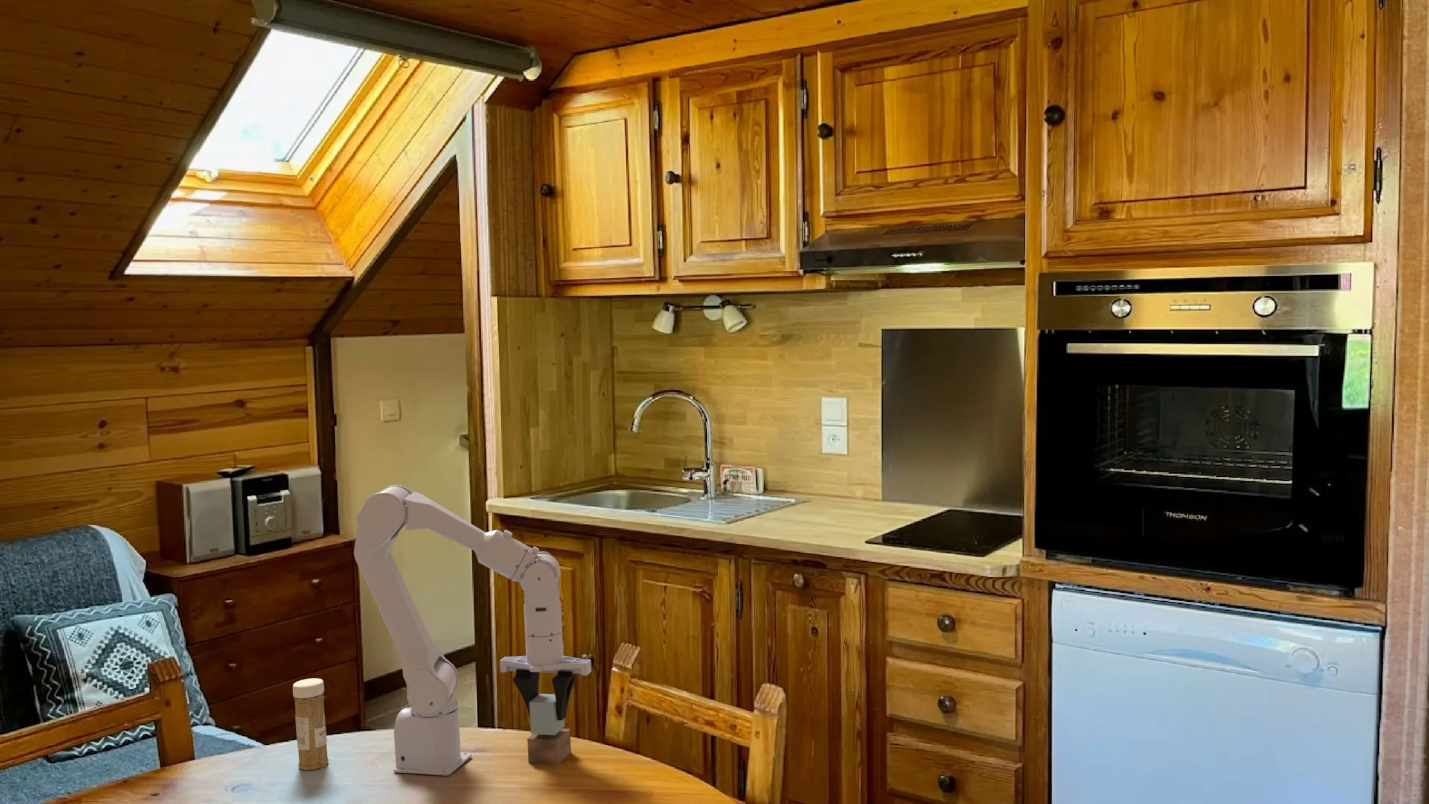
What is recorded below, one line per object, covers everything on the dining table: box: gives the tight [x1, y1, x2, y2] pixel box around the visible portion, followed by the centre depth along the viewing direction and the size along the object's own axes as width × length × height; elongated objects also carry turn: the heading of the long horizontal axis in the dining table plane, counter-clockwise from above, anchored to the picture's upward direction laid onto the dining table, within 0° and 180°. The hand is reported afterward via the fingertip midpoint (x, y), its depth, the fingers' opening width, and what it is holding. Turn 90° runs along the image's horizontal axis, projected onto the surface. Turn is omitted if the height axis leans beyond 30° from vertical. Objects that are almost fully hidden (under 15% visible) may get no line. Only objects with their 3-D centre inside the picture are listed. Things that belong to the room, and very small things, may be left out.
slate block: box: [529, 693, 566, 735], centre depth 170 cm, size 4×4×5 cm
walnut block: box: [526, 728, 572, 766], centre depth 170 cm, size 5×5×4 cm
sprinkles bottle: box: [292, 677, 329, 771], centre depth 171 cm, size 5×5×14 cm
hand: (547, 717), depth 170 cm, fingers closed on slate block, 4 cm apart
